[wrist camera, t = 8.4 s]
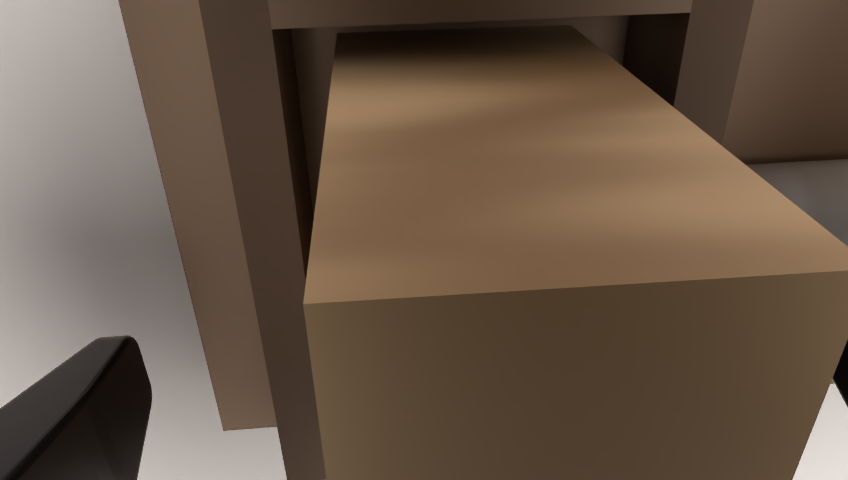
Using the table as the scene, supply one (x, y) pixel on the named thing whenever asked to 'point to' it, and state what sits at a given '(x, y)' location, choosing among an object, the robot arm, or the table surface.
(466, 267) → the tan wooden block
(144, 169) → the table surface
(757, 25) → the rail
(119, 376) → the robot arm
